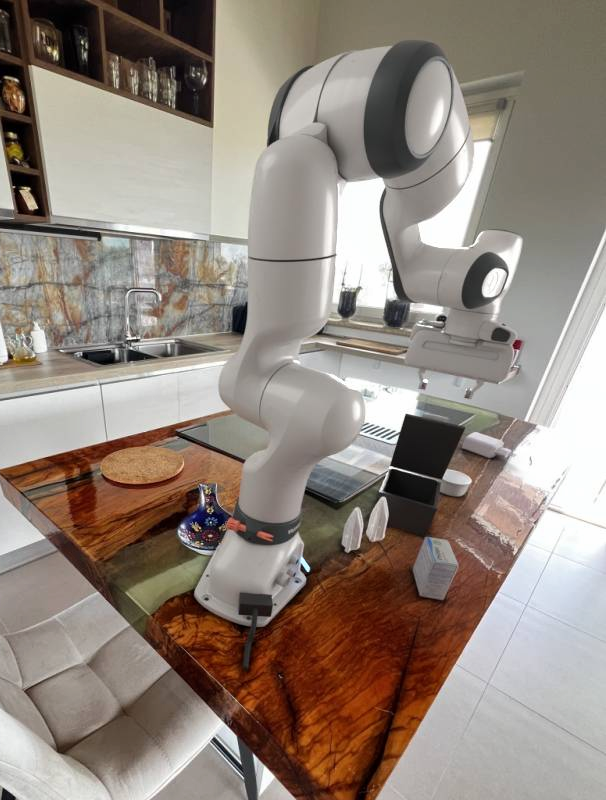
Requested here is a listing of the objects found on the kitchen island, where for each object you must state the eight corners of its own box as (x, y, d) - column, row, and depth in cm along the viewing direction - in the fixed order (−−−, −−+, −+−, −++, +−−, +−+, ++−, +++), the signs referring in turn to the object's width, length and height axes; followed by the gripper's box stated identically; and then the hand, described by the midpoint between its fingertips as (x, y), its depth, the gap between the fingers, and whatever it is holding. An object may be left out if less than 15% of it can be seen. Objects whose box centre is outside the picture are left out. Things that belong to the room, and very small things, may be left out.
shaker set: (376, 531, 95) (390, 489, 89) (389, 541, 92) (404, 499, 86) (334, 541, 90) (346, 498, 84) (346, 553, 87) (360, 509, 81)
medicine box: (443, 601, 77) (460, 566, 72) (418, 596, 77) (434, 561, 73) (434, 574, 83) (449, 539, 79) (411, 569, 84) (425, 535, 79)
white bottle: (507, 466, 133) (460, 449, 142) (516, 459, 139) (471, 443, 148) (513, 452, 131) (465, 436, 140) (523, 446, 136) (476, 430, 145)
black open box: (425, 537, 94) (437, 508, 90) (370, 519, 99) (378, 491, 95) (430, 506, 106) (441, 480, 102) (381, 492, 111) (389, 466, 107)
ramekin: (434, 494, 112) (440, 480, 110) (429, 479, 120) (434, 466, 118) (469, 500, 111) (475, 486, 109) (461, 485, 118) (467, 472, 116)
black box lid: (465, 428, 89) (468, 416, 92) (405, 415, 94) (409, 403, 96) (441, 480, 102) (445, 467, 104) (389, 465, 106) (394, 454, 109)
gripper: (413, 319, 85) (393, 386, 92) (526, 336, 78) (495, 407, 85) (416, 317, 90) (397, 380, 97) (523, 332, 83) (494, 400, 90)
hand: (444, 393), depth 91 cm, fingers open, 8 cm apart
